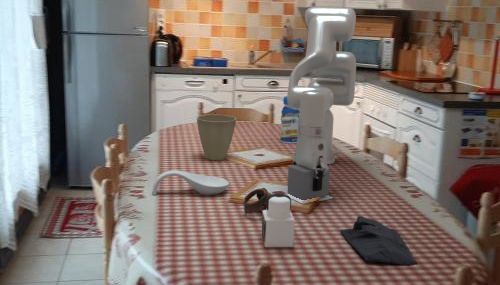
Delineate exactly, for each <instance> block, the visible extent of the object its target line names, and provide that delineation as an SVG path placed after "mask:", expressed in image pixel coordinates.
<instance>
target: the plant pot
mask: <svg viewBox="0 0 500 285" xmlns="http://www.w3.org/2000/svg"><path fill="white" fill-rule="evenodd" d="M196 120H197V122H196V123H197V128H198V135H199V138H200V139H199V140H200V143H201V146H202V147H201V148H202V150H203V153H204V157H205V159H207V160H209V161H215V160H216V161H223V160H225V159H226V157H227V155H228V153H229V152H228V151H229V149H230V146H231V143H232V140H233V136H234V132H235V128H236V121H237V118H236V117H234V116H231V115H228V114H227V115H226V114H214V113H213V114H202V115H198V116H197V117H196Z"/></svg>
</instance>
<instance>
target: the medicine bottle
mask: <svg viewBox="0 0 500 285" xmlns="http://www.w3.org/2000/svg"><path fill="white" fill-rule="evenodd" d="M285 194H286V193H280V192H278V193H271V195H269V196H268V197H267V200H266V207H265V209H263V211H261V212H262V214H261V239H262V242H263V246H264V248H293V247H294V244H295V226H296V225H295V224H296V223H295V221H296V220H295V218H294V216H293V214H292V199H291V198H290V197H289V196H288V195H285Z"/></svg>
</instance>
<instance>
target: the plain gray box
mask: <svg viewBox="0 0 500 285" xmlns="http://www.w3.org/2000/svg"><path fill="white" fill-rule="evenodd" d="M316 168H318V167H316ZM287 169H288V170H287V191H286V192H287V193H286V194H290V195H292V196H294V197H296V198H299V199H301V200H307V199H312V198H316V197H322V196H329V189H330V188H329V186H330V174H331V173H330V172H331V171H330V170H331V168H330V167H329V170H328V171H327V173H326V175H325V176H324V178H322V190H320V191H313V178H315V177H314V170H310V169H308V168H305V167H303V166H300V165H294V164H293V165H288V168H287ZM319 172H320V170H317V174H318V173H319Z"/></svg>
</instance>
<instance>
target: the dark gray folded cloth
mask: <svg viewBox="0 0 500 285" xmlns="http://www.w3.org/2000/svg"><path fill="white" fill-rule="evenodd" d="M340 233H341V234H342V235H343V237H344V238H345V239H346V241H347V243H349V245H351V246H352V247H353V248H354V249H355V250H356V252H358V254H359V255H360V256H361V257H362V258H363V259H364V260H365V261H368V262H369V263H371V262H372V263H373V262H375V263H387V264H393V265H400V266H411V265H412V266H414V265H418V261H417V260H416V259H415V257H414V256H413V254H412V252H411V250H410V249H409V247H408V245H407V244H406V241H404V240H403V238H402V236H401V235H400V233H398V230H395V229H394V228H390V227H388V226H386V225H384V223H382V222H379V221H378V220H375V219H372V218H367V217H364V216H362V215H361V216H360V215H358V216H357V218H356V221H355V222H354V224H353V226H352V228H347V229H340Z"/></svg>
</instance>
